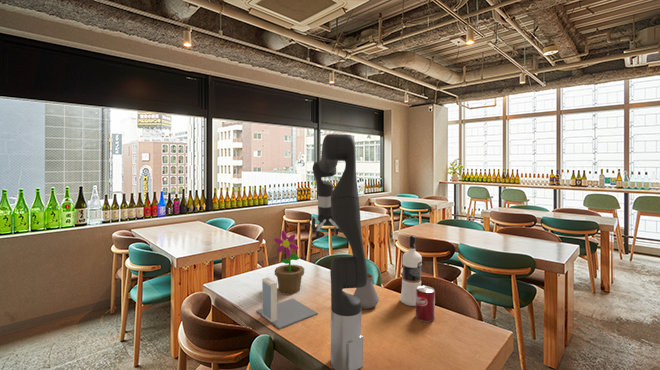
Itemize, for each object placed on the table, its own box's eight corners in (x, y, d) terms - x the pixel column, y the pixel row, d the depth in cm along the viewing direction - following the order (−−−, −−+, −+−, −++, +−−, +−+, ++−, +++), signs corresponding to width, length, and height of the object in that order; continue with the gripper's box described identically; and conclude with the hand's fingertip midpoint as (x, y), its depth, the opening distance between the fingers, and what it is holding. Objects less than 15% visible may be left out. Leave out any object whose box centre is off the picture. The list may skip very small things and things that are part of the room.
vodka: (410, 296, 145) (411, 232, 143) (426, 303, 138) (428, 236, 136) (395, 300, 140) (397, 235, 138) (411, 308, 133) (413, 239, 130)
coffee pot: (382, 303, 138) (383, 270, 137) (372, 313, 128) (372, 278, 127) (341, 292, 149) (341, 261, 148) (328, 301, 139) (328, 268, 138)
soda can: (421, 323, 120) (422, 293, 119) (411, 314, 127) (412, 286, 126) (438, 321, 122) (439, 291, 121) (427, 312, 129) (428, 284, 128)
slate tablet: (276, 320, 121) (276, 282, 120) (271, 322, 119) (271, 284, 118) (267, 313, 126) (267, 277, 125) (262, 315, 124) (262, 278, 123)
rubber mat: (317, 314, 127) (317, 312, 127) (279, 329, 115) (279, 327, 115) (292, 299, 140) (292, 298, 140) (256, 311, 129) (256, 310, 129)
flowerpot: (269, 293, 147) (269, 231, 145) (282, 282, 160) (282, 225, 158) (297, 297, 142) (297, 233, 140) (308, 286, 156) (308, 227, 154)
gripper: (312, 208, 138) (314, 241, 142) (343, 204, 141) (343, 237, 146) (309, 203, 145) (311, 235, 149) (338, 200, 148) (339, 231, 153)
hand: (327, 236), depth 147 cm, fingers open, 8 cm apart
